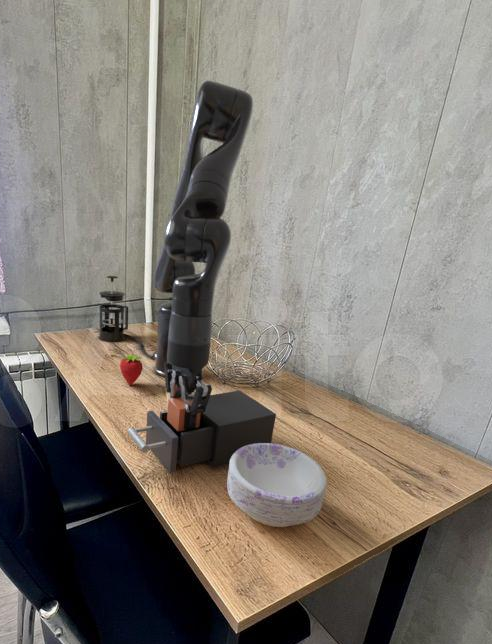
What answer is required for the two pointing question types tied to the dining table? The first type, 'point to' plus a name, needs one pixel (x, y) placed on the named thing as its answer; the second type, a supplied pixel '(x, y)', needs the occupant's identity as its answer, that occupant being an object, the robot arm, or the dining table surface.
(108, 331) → the french press
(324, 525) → the dining table surface
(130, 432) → the drawer
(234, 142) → the robot arm
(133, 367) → the strawberry
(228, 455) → the cabinet
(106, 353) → the dining table surface
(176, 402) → the block
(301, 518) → the paper bowls
